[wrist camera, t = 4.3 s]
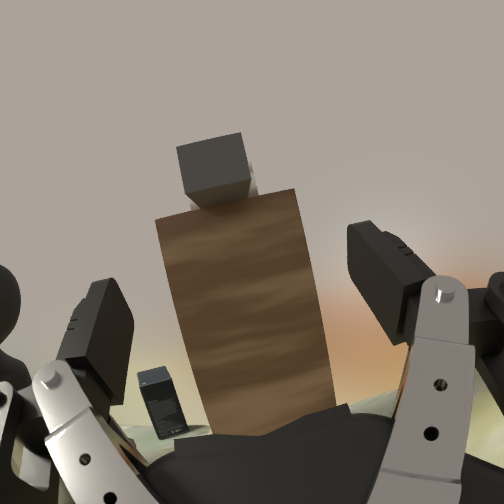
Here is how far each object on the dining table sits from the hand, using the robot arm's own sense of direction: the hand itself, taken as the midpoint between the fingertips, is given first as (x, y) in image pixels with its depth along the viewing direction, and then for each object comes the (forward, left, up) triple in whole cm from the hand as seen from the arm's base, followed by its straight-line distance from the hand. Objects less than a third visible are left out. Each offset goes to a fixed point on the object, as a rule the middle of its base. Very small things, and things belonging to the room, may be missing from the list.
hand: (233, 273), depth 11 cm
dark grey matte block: (+14, +10, +5) cm, 18 cm away
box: (+21, +38, -28) cm, 52 cm away
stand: (+18, +13, -27) cm, 35 cm away
